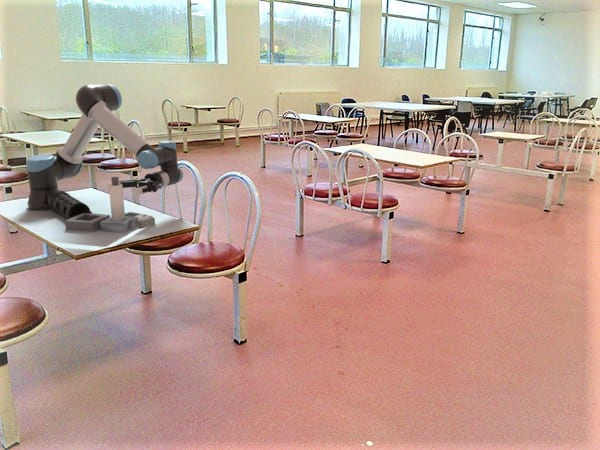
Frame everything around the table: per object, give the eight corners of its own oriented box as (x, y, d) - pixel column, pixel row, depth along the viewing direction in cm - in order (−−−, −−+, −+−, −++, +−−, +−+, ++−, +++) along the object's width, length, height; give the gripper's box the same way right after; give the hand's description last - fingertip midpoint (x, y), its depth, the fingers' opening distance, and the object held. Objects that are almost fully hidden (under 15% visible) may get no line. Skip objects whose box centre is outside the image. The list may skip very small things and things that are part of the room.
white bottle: (116, 217, 209) (112, 175, 204) (127, 218, 208) (124, 176, 203) (109, 220, 204) (105, 178, 199) (121, 221, 203) (117, 178, 198)
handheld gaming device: (142, 230, 211) (141, 220, 210) (115, 224, 217) (114, 215, 216) (157, 224, 219) (156, 216, 217) (130, 219, 225) (129, 211, 224)
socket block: (84, 224, 216) (83, 212, 214) (110, 226, 213) (109, 214, 212) (66, 232, 204) (64, 220, 203) (93, 235, 202) (92, 223, 200)
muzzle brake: (92, 224, 219) (66, 224, 212) (69, 210, 239) (45, 209, 232) (94, 202, 218) (68, 202, 211) (70, 190, 238) (46, 188, 231)
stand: (115, 226, 213) (114, 215, 211) (137, 228, 211) (136, 217, 209) (101, 234, 203) (100, 221, 202) (124, 236, 201) (123, 223, 200)
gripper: (180, 191, 220) (148, 203, 202) (133, 186, 230) (98, 196, 211) (179, 174, 218) (146, 184, 200) (132, 169, 228) (96, 178, 209)
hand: (122, 190), depth 205 cm, fingers open, 13 cm apart
